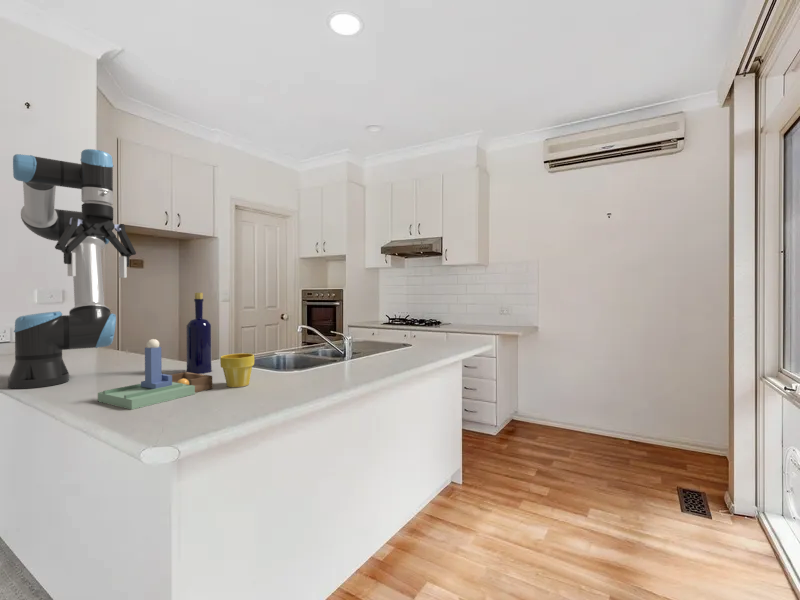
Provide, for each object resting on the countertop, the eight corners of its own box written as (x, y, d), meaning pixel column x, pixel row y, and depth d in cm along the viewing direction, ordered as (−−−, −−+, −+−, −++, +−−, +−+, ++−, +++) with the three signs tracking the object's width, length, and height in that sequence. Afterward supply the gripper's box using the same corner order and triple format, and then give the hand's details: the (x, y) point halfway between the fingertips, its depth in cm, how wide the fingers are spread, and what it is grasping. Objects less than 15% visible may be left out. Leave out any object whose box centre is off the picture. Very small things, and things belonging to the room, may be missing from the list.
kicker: (140, 386, 119) (140, 339, 119) (158, 383, 124) (158, 337, 124) (155, 389, 116) (154, 340, 116) (173, 385, 121) (172, 338, 120)
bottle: (205, 374, 151) (204, 292, 150) (180, 374, 151) (180, 292, 151) (217, 369, 160) (216, 292, 160) (193, 369, 160) (193, 292, 160)
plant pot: (213, 386, 131) (213, 356, 131) (239, 380, 140) (239, 352, 140) (235, 390, 127) (235, 359, 126) (261, 384, 136) (261, 354, 135)
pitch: (97, 401, 113) (97, 389, 113) (161, 388, 129) (161, 377, 129) (131, 409, 106) (131, 396, 106) (194, 394, 122) (194, 383, 122)
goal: (164, 388, 129) (164, 375, 129) (185, 384, 135) (185, 371, 135) (191, 393, 123) (191, 380, 123) (212, 388, 129) (212, 375, 129)
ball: (185, 386, 130) (175, 391, 127) (183, 376, 129) (172, 380, 126) (192, 387, 128) (182, 392, 125) (190, 377, 127) (180, 382, 124)
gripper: (52, 194, 108) (53, 275, 108) (148, 211, 130) (148, 277, 131) (38, 197, 111) (40, 275, 112) (134, 213, 134) (134, 278, 134)
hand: (98, 277), depth 121 cm, fingers open, 13 cm apart
